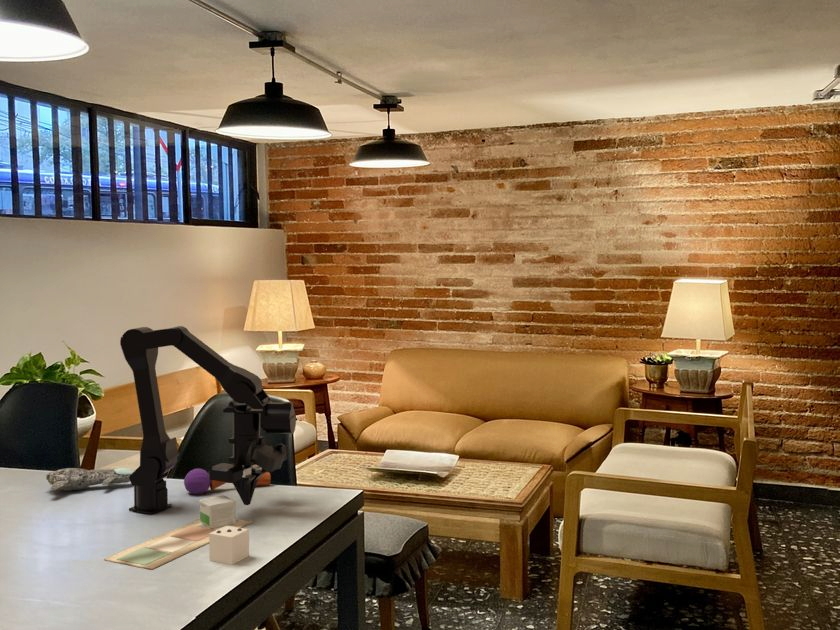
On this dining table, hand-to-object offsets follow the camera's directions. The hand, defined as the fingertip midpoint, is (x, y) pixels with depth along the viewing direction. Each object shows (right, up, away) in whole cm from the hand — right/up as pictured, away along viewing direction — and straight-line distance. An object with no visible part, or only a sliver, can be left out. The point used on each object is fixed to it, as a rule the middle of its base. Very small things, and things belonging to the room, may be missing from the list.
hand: (247, 504), depth 177 cm
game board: (-8, -3, -19) cm, 21 cm away
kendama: (-8, -1, +18) cm, 19 cm away
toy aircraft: (-40, -1, +18) cm, 44 cm away
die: (+3, -3, -28) cm, 28 cm away
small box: (-4, -2, -9) cm, 10 cm away
